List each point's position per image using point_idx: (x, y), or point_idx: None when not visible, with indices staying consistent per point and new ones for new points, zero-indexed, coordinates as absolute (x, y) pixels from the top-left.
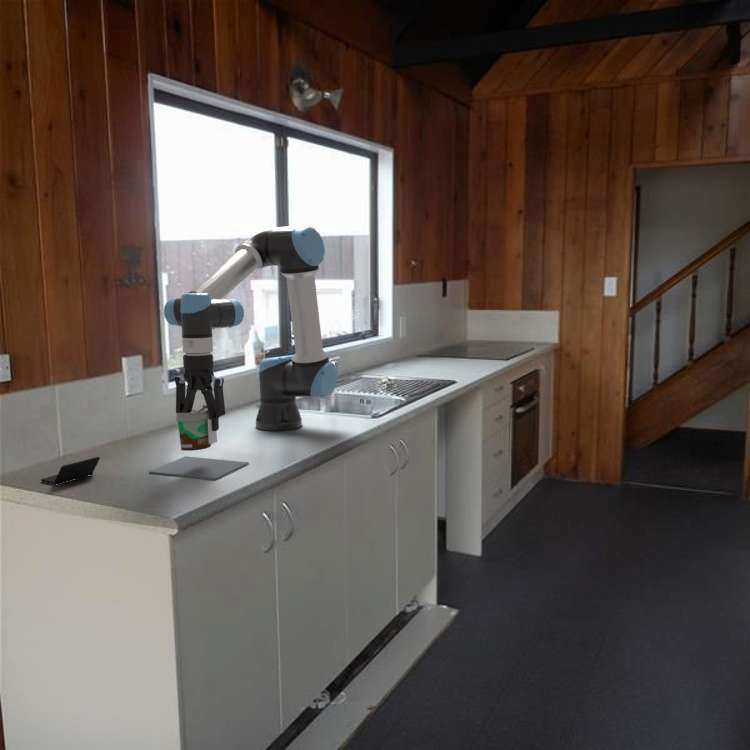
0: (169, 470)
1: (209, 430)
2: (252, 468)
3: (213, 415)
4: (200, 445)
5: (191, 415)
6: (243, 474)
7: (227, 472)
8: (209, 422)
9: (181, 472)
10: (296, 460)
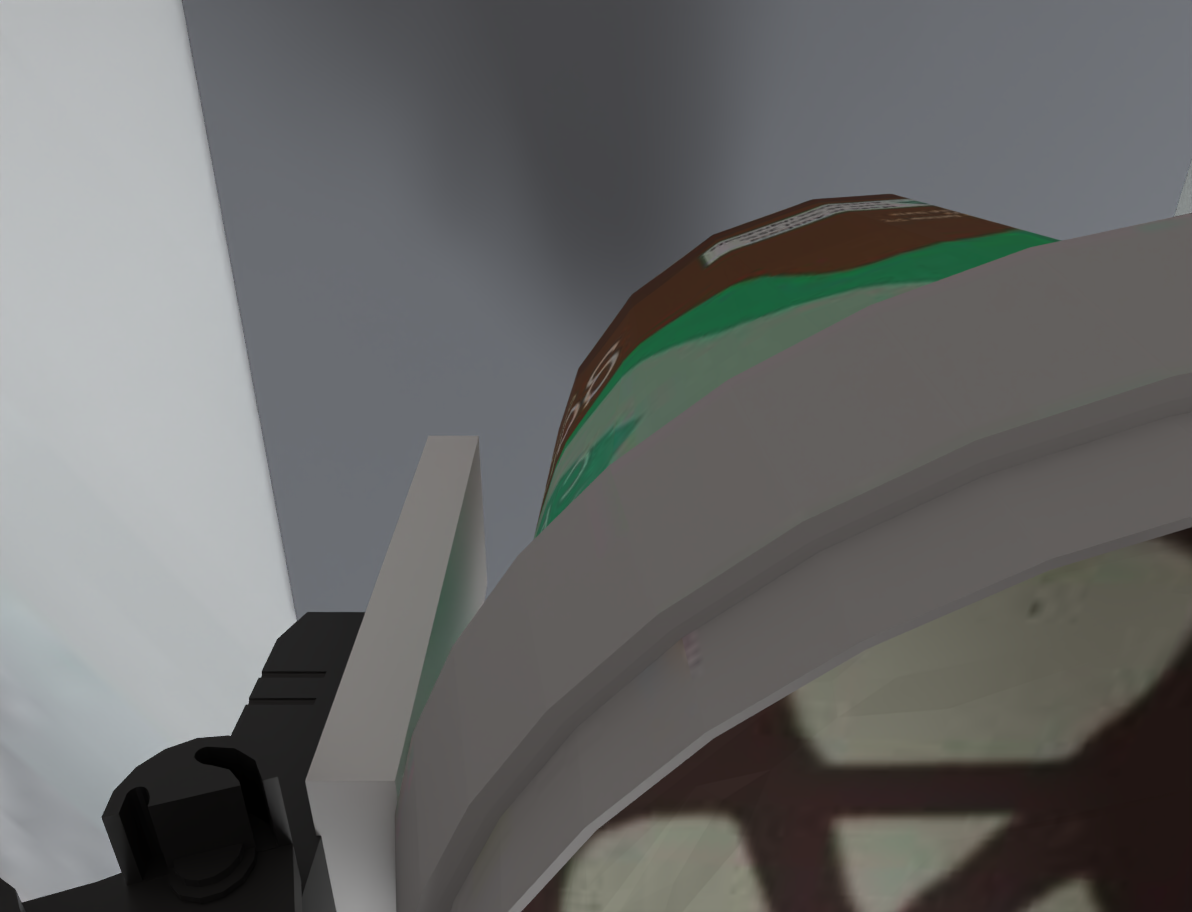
0: (978, 93)
1: (409, 577)
2: (168, 524)
3: (138, 909)
4: (596, 361)
5: (763, 543)
6: (82, 308)
7: (234, 255)
8: (352, 707)
9: (777, 63)
10: (10, 822)
